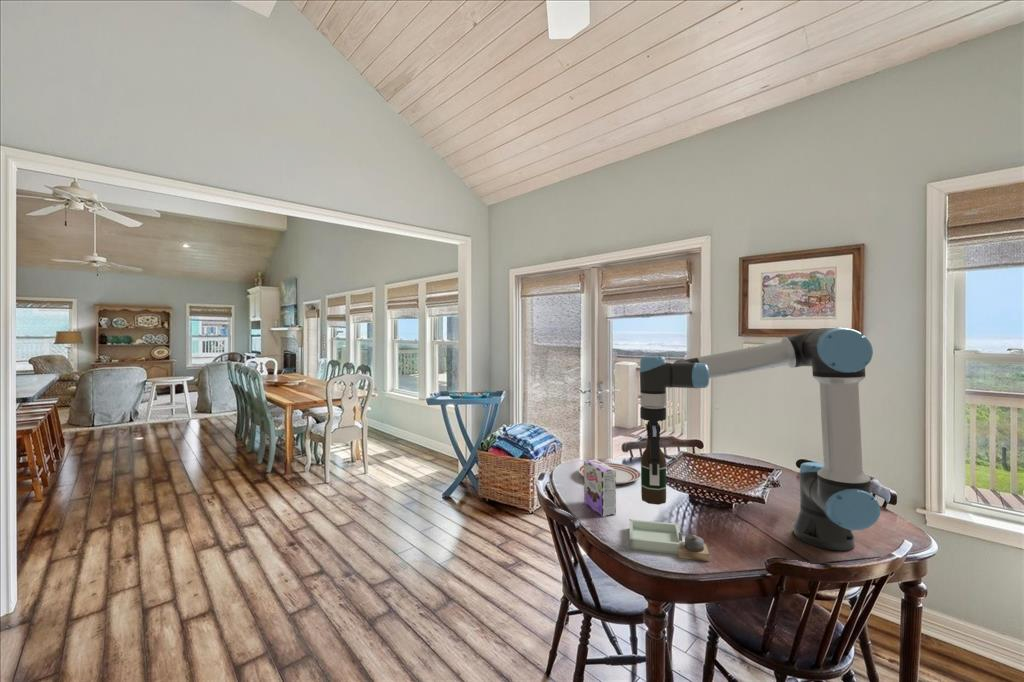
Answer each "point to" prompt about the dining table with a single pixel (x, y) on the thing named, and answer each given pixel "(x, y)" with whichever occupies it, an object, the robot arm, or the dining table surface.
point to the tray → (654, 536)
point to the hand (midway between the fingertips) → (653, 480)
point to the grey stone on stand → (693, 548)
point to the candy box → (600, 487)
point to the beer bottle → (648, 491)
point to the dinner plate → (620, 472)
